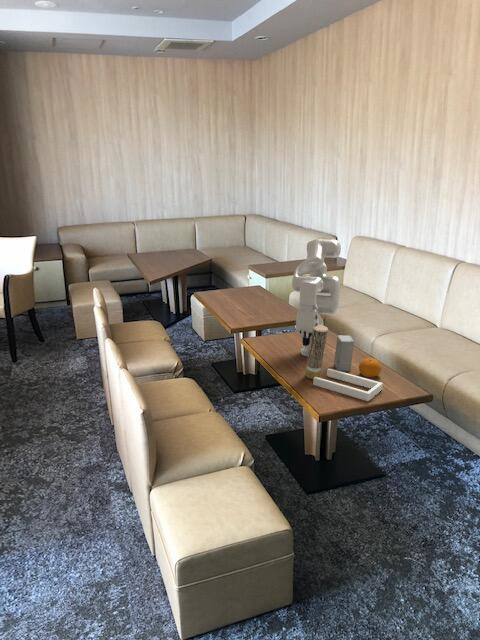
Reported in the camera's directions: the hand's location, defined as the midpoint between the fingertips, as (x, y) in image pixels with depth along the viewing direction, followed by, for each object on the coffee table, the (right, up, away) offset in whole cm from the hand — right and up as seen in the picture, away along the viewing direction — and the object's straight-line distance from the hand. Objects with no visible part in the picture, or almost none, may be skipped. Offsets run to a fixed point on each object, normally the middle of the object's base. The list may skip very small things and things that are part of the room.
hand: (306, 345), depth 245 cm
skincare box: (+20, -12, +13) cm, 27 cm away
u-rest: (+17, -19, -8) cm, 26 cm away
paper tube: (+3, -15, +2) cm, 16 cm away
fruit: (+31, -15, +5) cm, 34 cm away
